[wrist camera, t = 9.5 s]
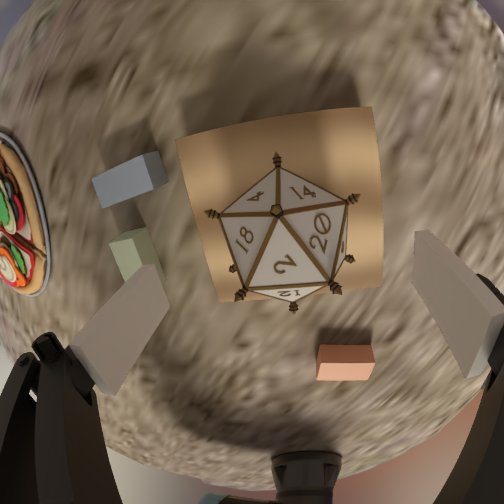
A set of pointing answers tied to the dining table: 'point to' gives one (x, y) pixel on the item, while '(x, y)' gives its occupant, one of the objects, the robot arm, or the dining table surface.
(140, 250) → the sage brick
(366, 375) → the terracotta brick
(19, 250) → the toy pizza
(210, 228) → the oak block
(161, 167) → the slate blue brick
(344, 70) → the dining table surface
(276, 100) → the dining table surface
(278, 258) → the game die
